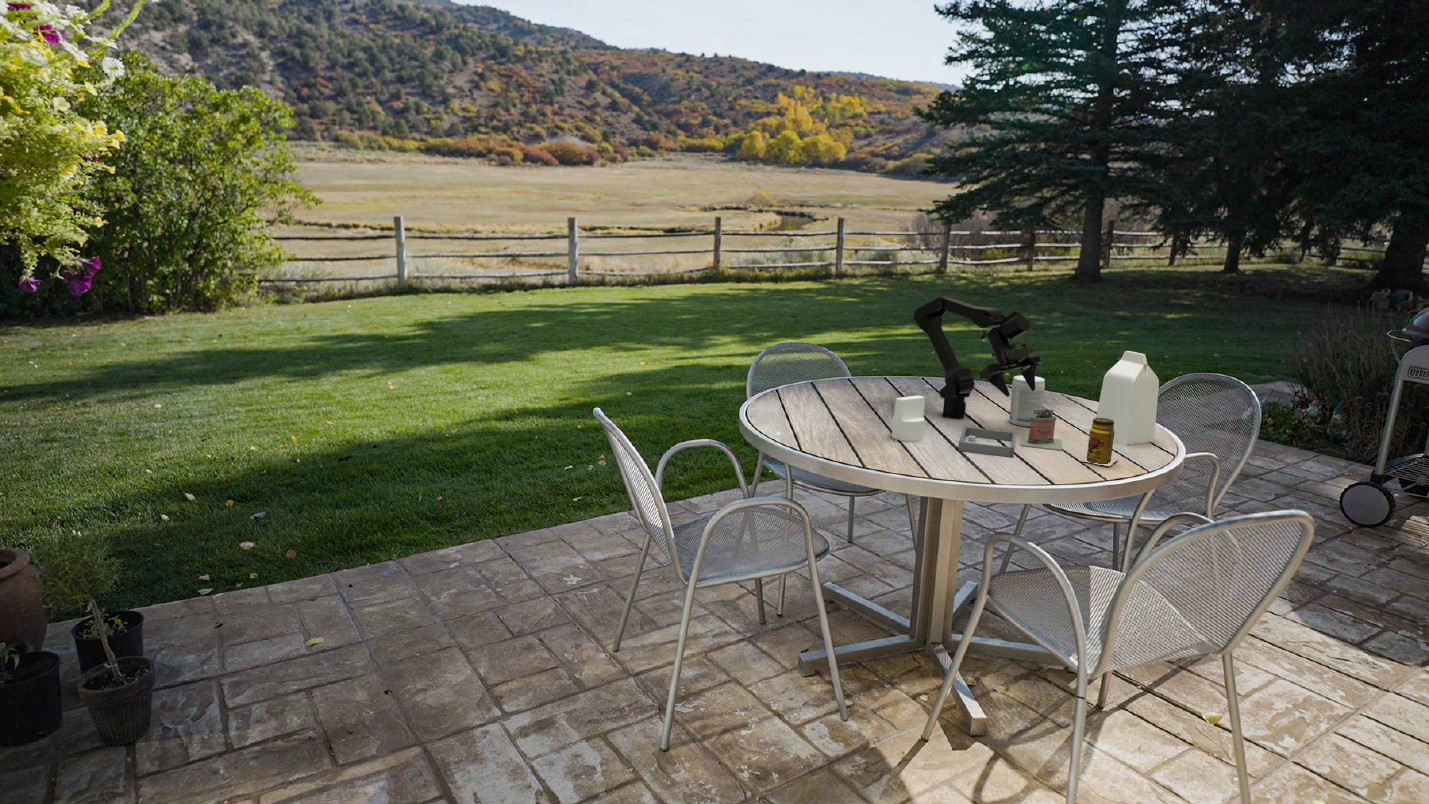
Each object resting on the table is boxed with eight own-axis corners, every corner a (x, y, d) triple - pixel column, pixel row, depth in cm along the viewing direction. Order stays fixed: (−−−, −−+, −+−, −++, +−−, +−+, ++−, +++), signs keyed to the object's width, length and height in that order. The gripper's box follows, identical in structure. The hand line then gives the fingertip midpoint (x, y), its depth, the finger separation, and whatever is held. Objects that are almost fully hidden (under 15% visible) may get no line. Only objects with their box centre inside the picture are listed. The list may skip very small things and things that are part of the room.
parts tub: (958, 450, 236) (958, 442, 236) (963, 434, 252) (964, 426, 252) (1012, 457, 231) (1013, 448, 231) (1014, 440, 247) (1015, 432, 247)
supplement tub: (1047, 425, 266) (1052, 379, 262) (1028, 429, 260) (1033, 382, 257) (1021, 418, 273) (1026, 373, 270) (1002, 421, 268) (1006, 376, 265)
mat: (1020, 446, 242) (1020, 444, 242) (1021, 436, 252) (1021, 435, 252) (1061, 450, 238) (1061, 449, 238) (1061, 440, 248) (1061, 439, 248)
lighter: (1048, 439, 248) (1052, 406, 245) (1056, 442, 245) (1060, 409, 242) (1025, 441, 246) (1028, 407, 243) (1032, 444, 243) (1036, 410, 240)
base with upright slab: (905, 443, 243) (908, 402, 240) (885, 435, 251) (888, 395, 248) (929, 439, 247) (932, 399, 244) (909, 431, 255) (912, 393, 252)
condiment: (1080, 462, 228) (1086, 419, 225) (1090, 455, 235) (1096, 414, 232) (1109, 468, 224) (1115, 424, 221) (1118, 461, 230) (1124, 418, 227)
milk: (1092, 434, 256) (1104, 350, 250) (1120, 431, 260) (1132, 348, 254) (1125, 445, 245) (1138, 357, 239) (1153, 441, 250) (1166, 355, 243)
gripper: (989, 340, 245) (1009, 389, 241) (1041, 329, 251) (1062, 377, 246) (970, 355, 255) (989, 403, 251) (1021, 345, 261) (1041, 391, 256)
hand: (1021, 393), depth 251 cm, fingers open, 9 cm apart
